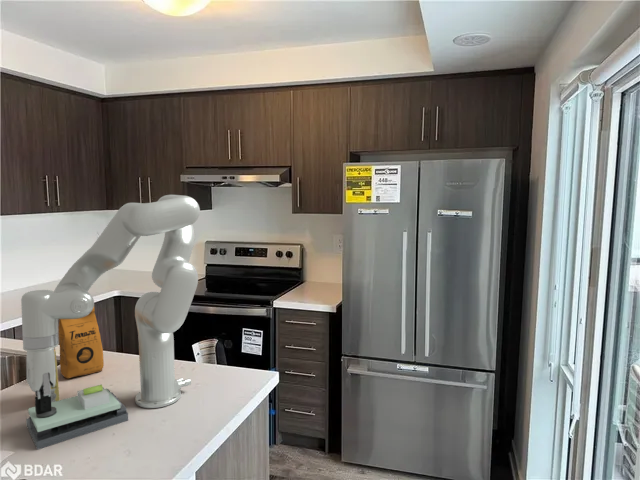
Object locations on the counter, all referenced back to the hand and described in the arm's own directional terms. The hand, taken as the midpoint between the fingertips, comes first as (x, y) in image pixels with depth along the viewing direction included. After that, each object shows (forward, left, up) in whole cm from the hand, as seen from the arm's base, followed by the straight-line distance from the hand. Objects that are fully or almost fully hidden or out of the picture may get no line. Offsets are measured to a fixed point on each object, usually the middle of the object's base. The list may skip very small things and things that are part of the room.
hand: (43, 411), depth 115 cm
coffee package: (-17, -34, -6) cm, 38 cm away
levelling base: (-8, 0, -6) cm, 9 cm away
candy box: (-5, -20, -6) cm, 21 cm away
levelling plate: (-7, 0, -2) cm, 8 cm away
